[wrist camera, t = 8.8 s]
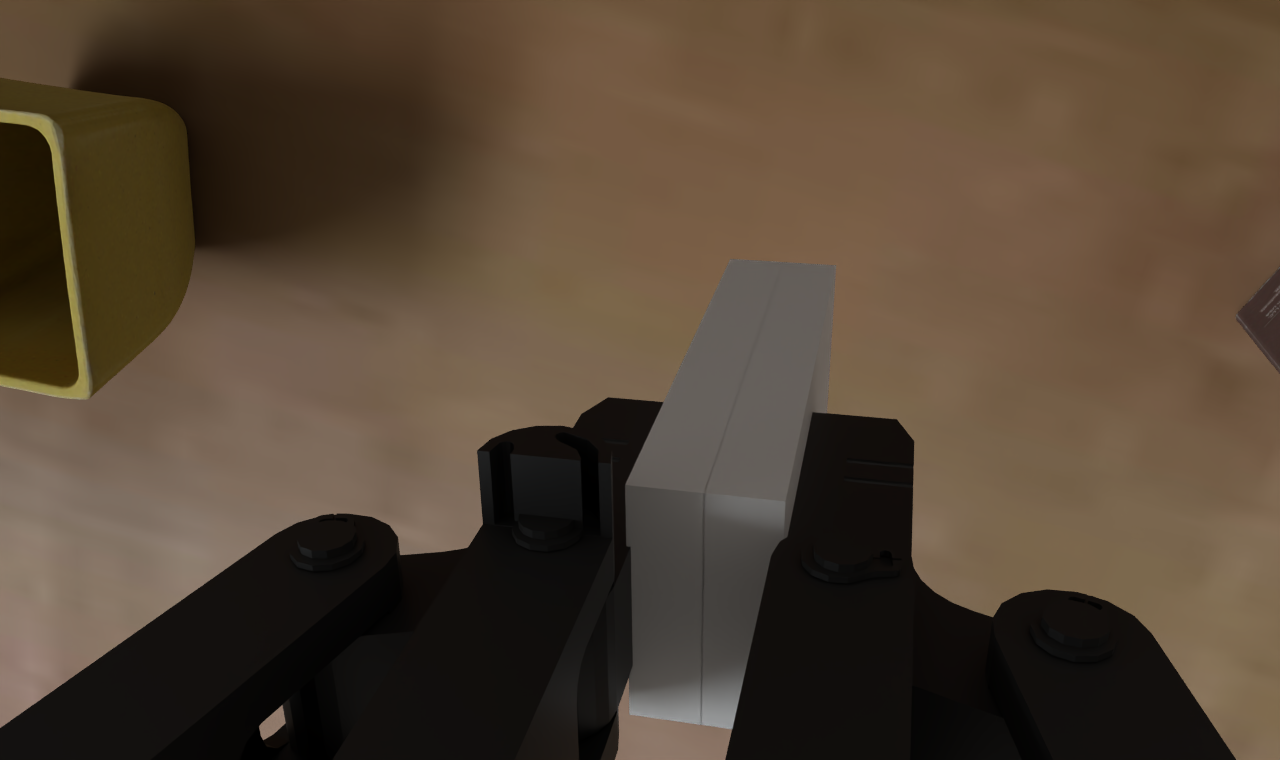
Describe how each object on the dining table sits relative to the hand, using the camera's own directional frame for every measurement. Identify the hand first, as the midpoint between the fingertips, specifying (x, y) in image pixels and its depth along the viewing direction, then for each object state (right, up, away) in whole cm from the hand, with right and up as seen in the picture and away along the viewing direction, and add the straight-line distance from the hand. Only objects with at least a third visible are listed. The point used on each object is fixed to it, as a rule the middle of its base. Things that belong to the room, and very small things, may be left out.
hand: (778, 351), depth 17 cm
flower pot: (-21, +7, +26) cm, 34 cm away
